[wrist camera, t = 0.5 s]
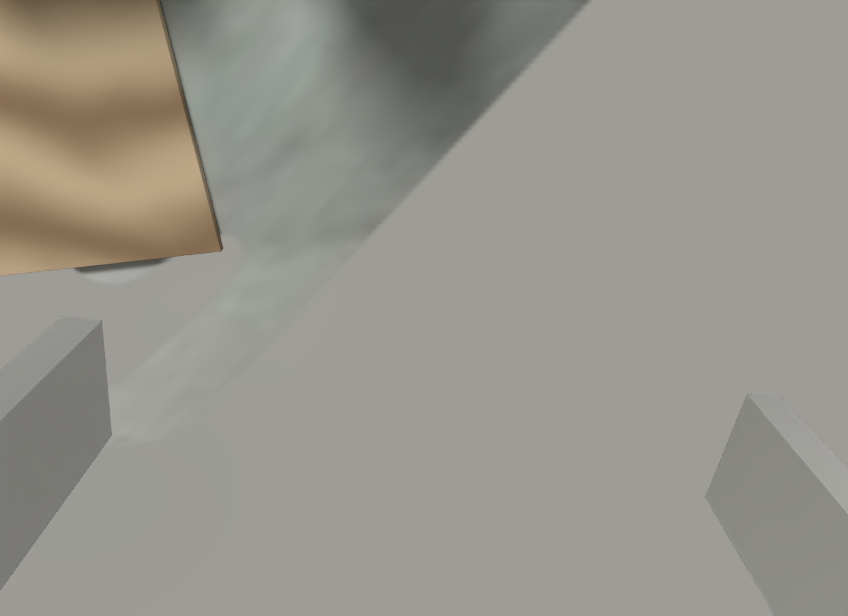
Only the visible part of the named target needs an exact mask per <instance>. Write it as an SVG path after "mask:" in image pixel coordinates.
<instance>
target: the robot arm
mask: <svg viewBox="0 0 848 616" xmlns="http://www.w3.org/2000/svg"><path fill="white" fill-rule="evenodd" d="M111 436H112V432H111V420H110V409H109V397H108V385H107V374H106V362H105V351H104V340H103V329H102V321H101V320H91V319H84V318H75V317H65V316H61V317H60V318H59V319H58V320H57V321H55V322H54V323H53V324H52V325H51V326H50V327H48V328H47V329H46V330H45V331H44V332H43V333H41V334H40V335H39V336H38V337H37V338H36V339H35V340H34V341H32V342H31V343H30V344H29V345H28V346H27V347H25V348H24V349H23V350H22V351H21V352H19V354H17V355H16V356H15V357H14V358H13V359H11V360H10V361H9V362H8V363H7V364H6V365H4V366H3V367H2V368H1V369H0V590H1V589H2V588H3V586H4V585H5V583H6V582H7V581H8V579H9V578H10V576H11V575H12V574H13V572H14V571H15V569H16V568H17V567H18V565H19V564H20V562H21V561H22V560H23V558H24V557H25V556H26V554H27V553H28V551H29V550H30V549H31V547H32V546H33V544H34V543H35V542H36V540H37V539H38V537H39V536H40V535H41V533H42V532H43V531H44V529H45V528H46V526H47V525H48V524H49V522H50V521H51V519H52V518H53V517H54V515H55V514H56V512H57V511H58V509H59V508H60V507H61V506H62V504H63V503H64V501H65V500H66V499H67V497H68V496H69V494H70V493H71V492H72V490H73V489H74V487H75V486H76V485H77V483H78V482H79V481H80V479H81V478H82V476H83V475H84V473H85V472H86V471H87V469H88V468H89V467H90V465H91V464H92V462H93V461H94V460H95V458H96V457H97V455H98V454H99V453H100V451H101V450H102V449H103V447H104V446H105V444H106V443H107V442H108V440H109V439H110V437H111ZM706 499H707V501H708V502H709V504H710V506H711V508H712V509H713V511H714V513H715V514H716V516H717V518H718V520H719V521H720V523H721V525H722V527H723V528H724V530H725V532H726V534H727V535H728V537H729V539H730V541H731V542H732V544H733V546H734V547H735V549H736V550H737V552H738V554H739V556H740V558H741V559H742V561H743V563H744V565H745V566H746V568H747V570H748V572H749V573H750V575H751V577H752V578H753V580H754V582H755V584H756V585H757V587H758V589H759V591H760V592H761V594H762V596H763V597H764V599H765V601H766V603H767V604H768V606H769V608H770V610H771V611H772V613H773V615H774V616H848V469H847V468H846V467H845V466H844V464H843V463H842V462H841V461H840V460H839V459H838V458H837V457H836V456H835V455H834V454H833V453H832V452H831V450H830V449H829V448H828V447H827V446H826V445H825V444H824V443H823V442H822V441H821V440H820V438H819V437H818V436H817V435H816V434H815V433H814V432H813V431H812V430H811V429H810V428H809V426H807V424H806V423H805V422H804V421H803V420H802V419H801V418H800V417H799V416H798V415H797V413H796V412H795V411H794V410H793V409H792V408H791V407H790V406H789V405H788V404H787V403H786V402H785V401H784V399H783V398H776V397H767V396H759V395H750V394H747V396H746V398H745V401H744V403H743V406H742V408H741V410H740V413H739V415H738V418H737V420H736V423H735V425H734V428H733V430H732V433H731V435H730V437H729V440H728V442H727V445H726V447H725V450H724V452H723V455H722V457H721V460H720V462H719V465H718V467H717V470H716V472H715V474H714V477H713V479H712V482H711V485H710V487H709V489H708V492H707V494H706Z"/></svg>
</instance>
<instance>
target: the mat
mask: <svg viewBox="0 0 848 616" xmlns="http://www.w3.org/2000/svg"><path fill="white" fill-rule="evenodd" d="M222 249H223V246H222V242H221V238H220V234H219V230H218V226H217V222H216V218H215V214H214V211H213V207H212V203H211V199H210V195H209V191H208V187H207V183H206V179H205V175H204V172H203V168H202V164H201V160H200V156H199V152H198V148H197V144H196V140H195V137H194V133H193V129H192V125H191V121H190V117H189V113H188V109H187V105H186V101H185V98H184V94H183V90H182V86H181V82H180V78H179V74H178V70H177V66H176V62H175V59H174V55H173V51H172V47H171V43H170V39H169V35H168V31H167V27H166V23H165V20H164V16H163V12H162V8H161V4H160V0H0V276H3V275H12V274H21V273H31V272H40V271H48V270H58V269H67V268H76V267H85V266H94V265H103V264H112V263H121V262H130V261H139V260H148V259H157V258H166V257H175V256H184V255H192V254H202V253H210V252H220V251H222Z"/></svg>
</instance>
